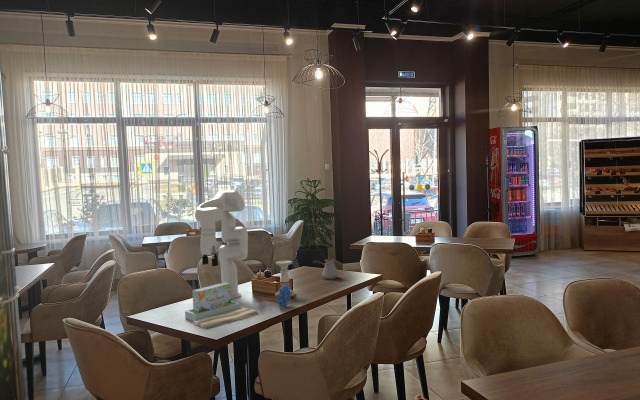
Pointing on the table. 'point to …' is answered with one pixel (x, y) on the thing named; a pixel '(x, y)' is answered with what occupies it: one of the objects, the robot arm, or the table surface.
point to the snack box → (211, 297)
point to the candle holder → (284, 275)
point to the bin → (211, 312)
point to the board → (225, 317)
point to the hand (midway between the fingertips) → (210, 265)
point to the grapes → (283, 296)
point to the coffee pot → (329, 269)
